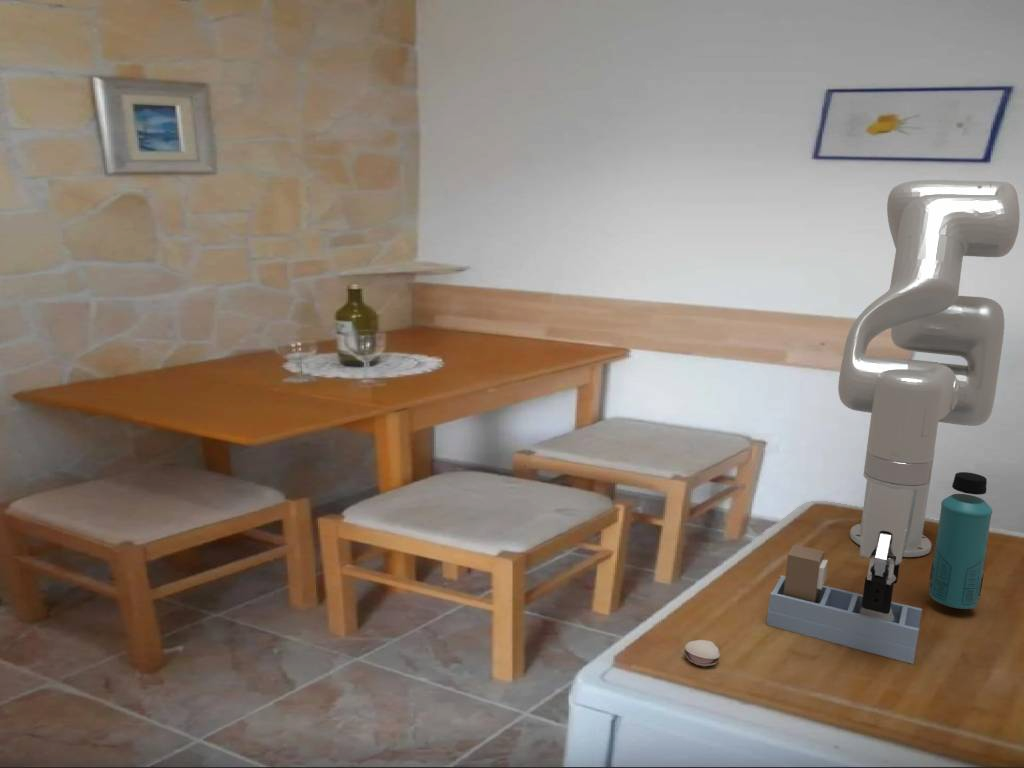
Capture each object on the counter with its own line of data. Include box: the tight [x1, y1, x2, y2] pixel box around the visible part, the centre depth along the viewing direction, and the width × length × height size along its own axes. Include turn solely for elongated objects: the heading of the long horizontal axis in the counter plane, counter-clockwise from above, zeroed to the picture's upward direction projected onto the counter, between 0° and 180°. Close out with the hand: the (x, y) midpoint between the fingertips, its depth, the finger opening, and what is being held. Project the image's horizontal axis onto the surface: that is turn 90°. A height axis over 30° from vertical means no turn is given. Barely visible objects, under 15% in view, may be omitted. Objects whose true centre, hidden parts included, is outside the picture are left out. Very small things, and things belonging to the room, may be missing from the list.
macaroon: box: [683, 639, 721, 667], centre depth 102 cm, size 4×5×2 cm
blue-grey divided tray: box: [766, 544, 923, 665], centre depth 108 cm, size 7×18×10 cm, turn 60°
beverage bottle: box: [928, 471, 993, 610], centre depth 115 cm, size 6×7×20 cm
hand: (879, 594), depth 106 cm, fingers open, 9 cm apart
